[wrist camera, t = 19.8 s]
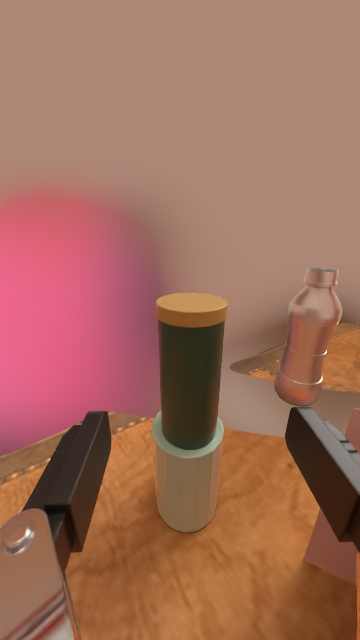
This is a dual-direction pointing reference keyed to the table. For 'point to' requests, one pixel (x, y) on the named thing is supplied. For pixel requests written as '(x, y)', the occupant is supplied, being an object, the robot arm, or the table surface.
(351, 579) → the greeting card
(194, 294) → the tea tin
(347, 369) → the table surface
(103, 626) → the table surface
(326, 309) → the plastic bottle
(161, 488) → the vase
